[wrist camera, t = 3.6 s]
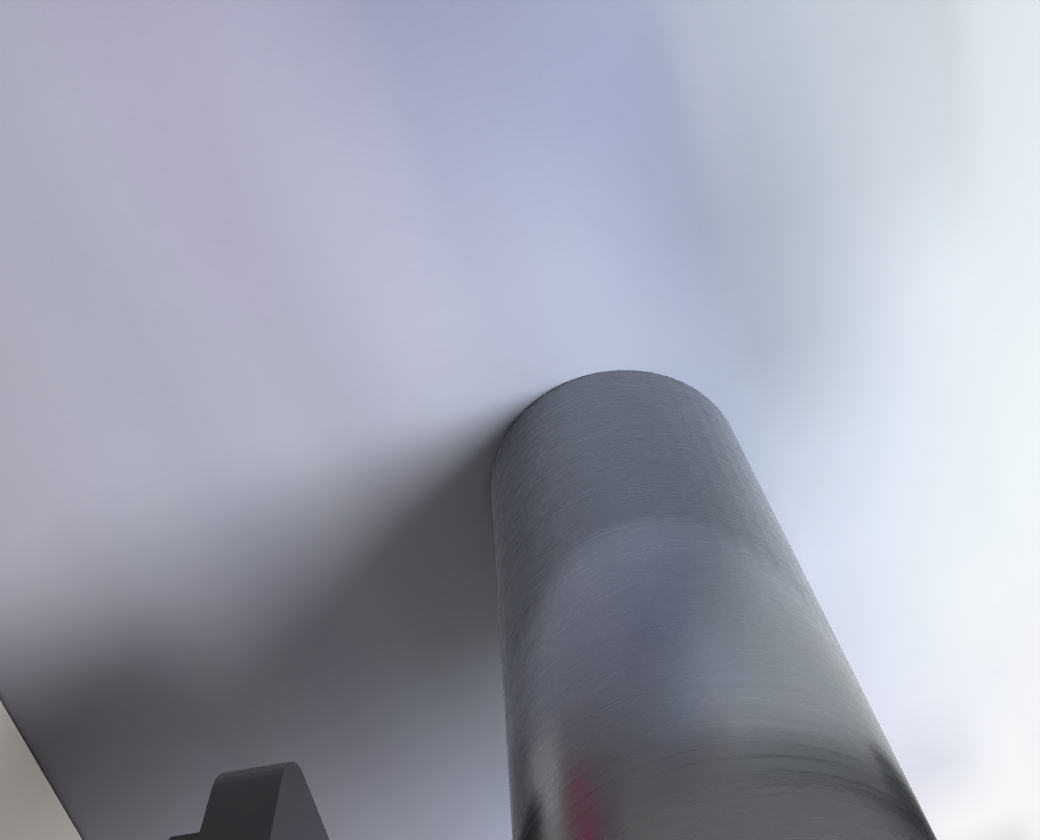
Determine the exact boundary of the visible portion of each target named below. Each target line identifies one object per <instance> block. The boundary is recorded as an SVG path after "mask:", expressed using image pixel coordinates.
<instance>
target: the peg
mask: <svg viewBox="0 0 1040 840" xmlns="http://www.w3.org/2000/svg"><path fill="white" fill-rule="evenodd" d="M491 497H492V513H493V529H494V545H495V561H496V577H497V594H498V610H499V626H500V642H501V658H502V674H503V690H504V706H505V722H506V738H507V755H508V771H509V787H510V803H511V819H512V835H513V840H937V839H936V837H935V835H934V833H933V831H932V829H931V827H930V825H929V823H928V821H927V819H926V817H925V815H924V813H923V811H922V809H921V807H920V805H919V803H918V801H917V799H916V797H915V795H914V793H913V791H912V789H911V787H910V785H909V783H908V781H907V779H906V777H905V775H904V773H903V771H902V769H901V767H900V765H899V763H898V761H897V759H896V757H895V755H894V753H893V751H892V749H891V747H890V745H889V743H888V741H887V739H886V737H885V735H884V733H883V731H882V729H881V727H880V725H879V723H878V721H877V719H876V717H875V715H874V713H873V711H872V709H871V707H870V705H869V703H868V701H867V699H866V697H865V695H864V693H863V691H862V689H861V687H860V685H859V683H858V681H857V679H856V677H855V675H854V673H853V671H852V669H851V667H850V665H849V663H848V661H847V659H846V657H845V655H844V653H843V651H842V649H841V647H840V645H839V643H838V641H837V639H836V637H835V635H834V633H833V631H832V629H831V627H830V625H829V623H828V621H827V619H826V617H825V615H824V613H823V611H822V609H821V607H820V605H819V603H818V601H817V599H816V597H815V595H814V593H813V591H812V589H811V587H810V585H809V583H808V581H807V579H806V577H805V575H804V573H803V571H802V569H801V567H800V565H799V563H798V561H797V559H796V557H795V555H794V553H793V551H792V549H791V547H790V545H789V543H788V541H787V539H786V537H785V535H784V533H783V531H782V529H781V527H780V525H779V523H778V521H777V519H776V517H775V515H774V513H773V511H772V509H771V507H770V505H769V503H768V501H767V499H766V497H765V495H764V493H763V491H762V489H761V487H760V485H759V483H758V481H757V479H756V477H755V475H754V473H753V471H752V469H751V467H750V465H749V463H748V461H747V459H746V457H745V455H744V453H743V451H742V449H741V447H740V445H739V443H738V441H737V439H736V437H735V435H734V433H733V431H732V429H731V427H730V425H729V423H728V421H727V420H726V418H725V417H724V416H723V414H722V413H721V412H720V410H719V409H718V408H717V407H716V406H715V405H714V404H713V403H712V402H711V401H710V400H709V399H708V398H706V397H705V396H704V395H702V394H701V393H700V392H698V391H697V390H696V389H694V388H692V387H690V386H688V385H687V384H685V383H683V382H680V381H678V380H675V379H673V378H670V377H667V376H663V375H659V374H655V373H651V372H642V371H610V372H602V373H597V374H593V375H589V376H585V377H581V378H578V379H576V380H573V381H570V382H568V383H565V384H563V385H561V386H559V387H558V388H556V389H554V390H552V391H550V392H549V393H547V394H546V395H544V396H543V397H541V398H540V399H538V400H537V401H536V402H534V403H533V404H532V405H531V406H530V407H529V408H527V409H526V410H525V411H524V412H523V413H522V414H521V416H520V417H519V418H518V419H517V420H516V421H515V422H514V423H513V425H512V426H511V428H510V429H509V431H508V432H507V434H506V435H505V437H504V439H503V441H502V443H501V445H500V447H499V449H498V452H497V455H496V458H495V461H494V465H493V471H492V477H491Z"/></svg>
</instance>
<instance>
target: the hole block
mask: <svg viewBox="0 0 1040 840" xmlns="http://www.w3.org/2000/svg"><path fill="white" fill-rule="evenodd" d="M0 840H82V839H81V837H80V835H79V833H78V832H77V830H76V828H75V827H74V825H73V823H72V822H71V820H70V818H69V816H68V815H67V813H66V811H65V810H64V808H63V806H62V805H61V803H60V801H59V799H58V798H57V796H56V794H55V793H54V791H53V789H52V788H51V786H50V784H49V782H48V781H47V779H46V777H45V776H44V774H43V772H42V770H41V769H40V767H39V765H38V764H37V762H36V760H35V759H34V757H33V755H32V753H31V752H30V750H29V748H28V747H27V745H26V743H25V742H24V740H23V738H22V736H21V735H20V733H19V731H18V730H17V728H16V726H15V725H14V723H13V721H12V719H11V718H10V716H9V714H8V713H7V711H6V709H5V707H4V706H3V704H2V702H1V701H0Z"/></svg>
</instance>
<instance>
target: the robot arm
mask: <svg viewBox="0 0 1040 840" xmlns="http://www.w3.org/2000/svg"><path fill="white" fill-rule="evenodd" d="M169 840H329V838H328V836H327V833H326V831H325V828H324V826H323V823H322V821H321V818H320V816H319V813H318V811H317V808H316V805H315V803H314V800H313V798H312V795H311V793H310V790H309V788H308V785H307V783H306V780H305V778H304V775H303V773H302V771H301V769H300V767H299V766H298V765H297V764H296V763H295V762H287V763H281V764H275V765H269V766H263V767H256V768H250V769H244V770H238V771H232V772H226V773H222V774H220V775H219V776H218V777H217V779H216V780H215V782H214V784H213V787H212V790H211V794H210V797H209V801H208V805H207V808H206V812H205V816H204V819H203V823H202V827H201V830H200V832H198V833H192V834H186V835H180V836H174V837H171V838H170V839H169Z"/></svg>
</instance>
